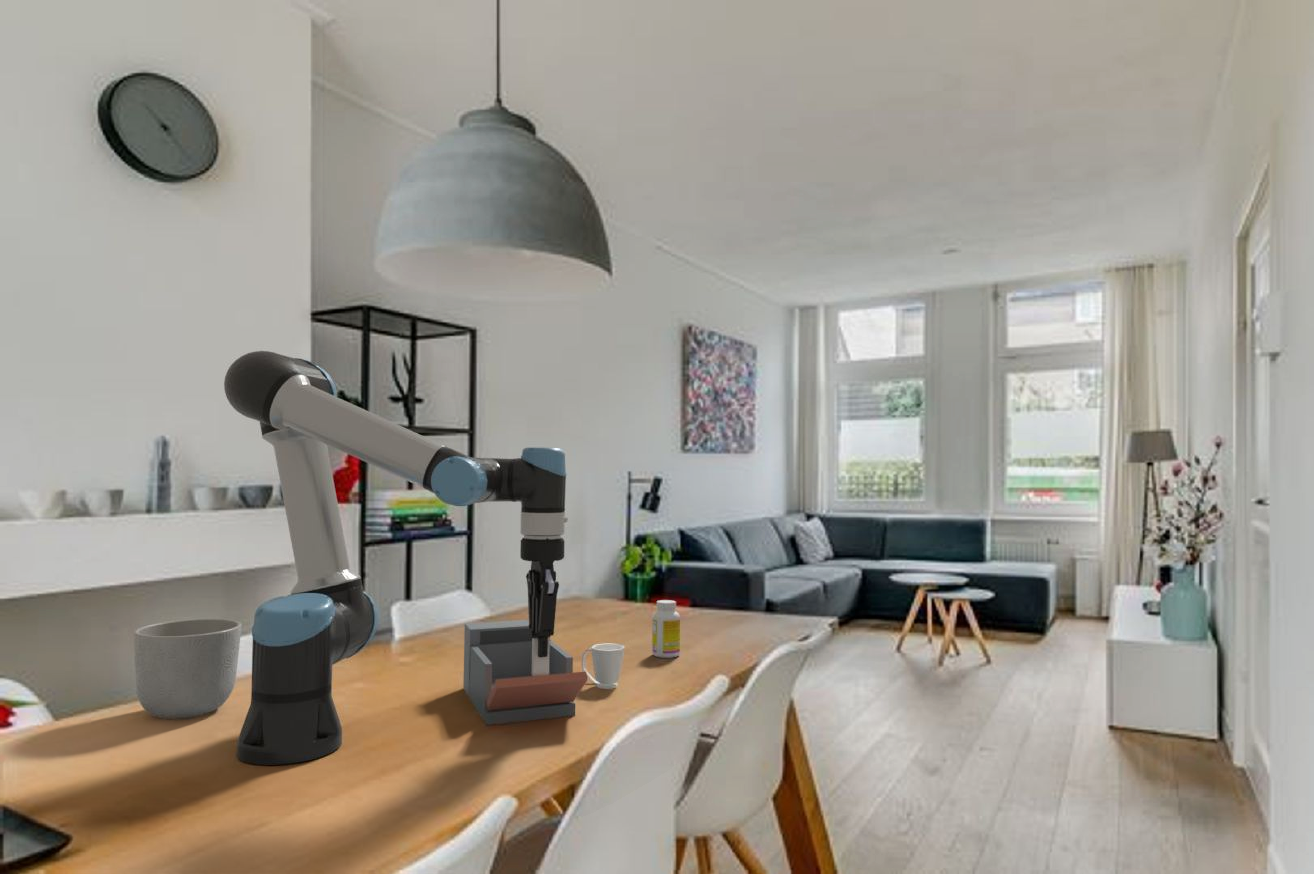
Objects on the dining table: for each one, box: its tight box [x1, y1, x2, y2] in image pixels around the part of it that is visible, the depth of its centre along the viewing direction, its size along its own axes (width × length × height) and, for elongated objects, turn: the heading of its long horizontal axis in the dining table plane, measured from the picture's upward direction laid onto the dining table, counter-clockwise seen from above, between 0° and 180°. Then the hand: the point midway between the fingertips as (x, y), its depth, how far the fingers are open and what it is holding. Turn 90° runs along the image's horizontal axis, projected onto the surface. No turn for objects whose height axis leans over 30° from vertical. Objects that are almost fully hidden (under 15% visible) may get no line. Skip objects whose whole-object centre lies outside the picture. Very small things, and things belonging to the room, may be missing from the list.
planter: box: [132, 618, 243, 720], centre depth 147 cm, size 17×17×15 cm
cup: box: [581, 642, 625, 690], centre depth 168 cm, size 7×10×8 cm
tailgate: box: [486, 671, 589, 710], centre depth 142 cm, size 16×2×10 cm
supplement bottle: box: [651, 599, 681, 659], centre depth 195 cm, size 7×7×13 cm
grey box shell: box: [462, 619, 532, 698], centre depth 164 cm, size 16×7×13 cm, turn 112°
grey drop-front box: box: [468, 639, 576, 726], centre depth 153 cm, size 16×18×10 cm
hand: (540, 674), depth 139 cm, fingers closed
